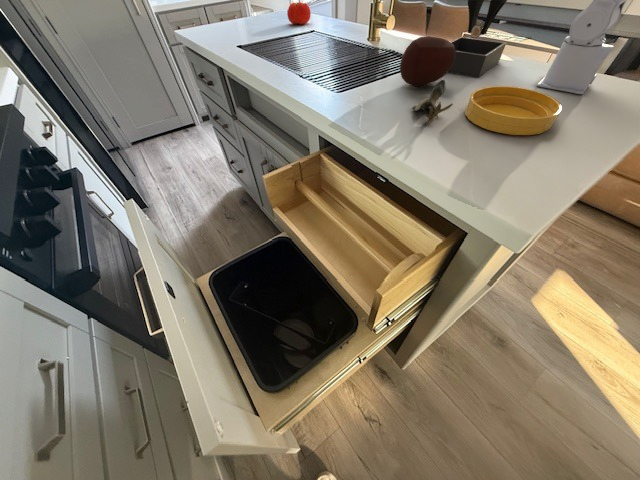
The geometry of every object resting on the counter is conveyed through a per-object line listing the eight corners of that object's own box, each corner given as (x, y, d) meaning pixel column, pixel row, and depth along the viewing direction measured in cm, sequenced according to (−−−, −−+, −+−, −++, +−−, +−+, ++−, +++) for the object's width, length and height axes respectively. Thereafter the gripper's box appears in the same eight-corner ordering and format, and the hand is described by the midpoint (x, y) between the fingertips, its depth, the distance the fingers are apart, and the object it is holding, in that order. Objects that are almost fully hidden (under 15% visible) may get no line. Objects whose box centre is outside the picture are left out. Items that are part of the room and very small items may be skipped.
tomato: (286, 22, 130) (284, 2, 125) (308, 20, 132) (307, 0, 126) (290, 27, 123) (288, 5, 118) (313, 24, 125) (312, 3, 119)
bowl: (559, 115, 56) (570, 97, 53) (537, 146, 48) (549, 127, 46) (481, 97, 63) (487, 80, 61) (451, 121, 56) (457, 104, 53)
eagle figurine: (458, 120, 53) (450, 94, 58) (448, 90, 49) (441, 65, 53) (419, 137, 57) (415, 112, 62) (407, 112, 53) (403, 86, 57)
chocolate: (483, 38, 72) (489, 19, 69) (477, 39, 72) (483, 20, 69) (473, 36, 74) (479, 17, 71) (468, 37, 73) (474, 18, 70)
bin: (498, 63, 79) (506, 42, 75) (478, 77, 72) (486, 56, 68) (454, 56, 85) (460, 36, 81) (432, 68, 78) (437, 48, 74)
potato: (455, 89, 67) (471, 39, 59) (406, 96, 65) (416, 44, 58) (434, 75, 74) (445, 28, 66) (389, 80, 73) (395, 33, 65)
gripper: (462, -38, 64) (444, 32, 74) (529, -39, 57) (499, 39, 67) (473, -41, 67) (455, 27, 77) (538, -41, 60) (509, 34, 70)
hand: (476, 33), depth 72 cm, fingers closed on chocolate, 3 cm apart
